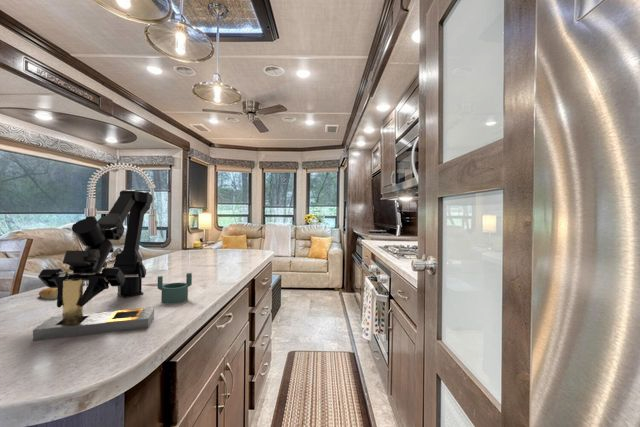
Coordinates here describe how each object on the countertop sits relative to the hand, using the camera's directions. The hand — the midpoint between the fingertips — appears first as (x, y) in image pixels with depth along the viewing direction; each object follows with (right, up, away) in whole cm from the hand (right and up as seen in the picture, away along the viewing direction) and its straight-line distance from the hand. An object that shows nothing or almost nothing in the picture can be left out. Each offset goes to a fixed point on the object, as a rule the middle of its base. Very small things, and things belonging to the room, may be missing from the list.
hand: (69, 306), depth 75 cm
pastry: (-30, -6, +30) cm, 43 cm away
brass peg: (0, -7, +1) cm, 7 cm away
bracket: (+13, -7, +28) cm, 32 cm away
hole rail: (+5, -7, +3) cm, 9 cm away
